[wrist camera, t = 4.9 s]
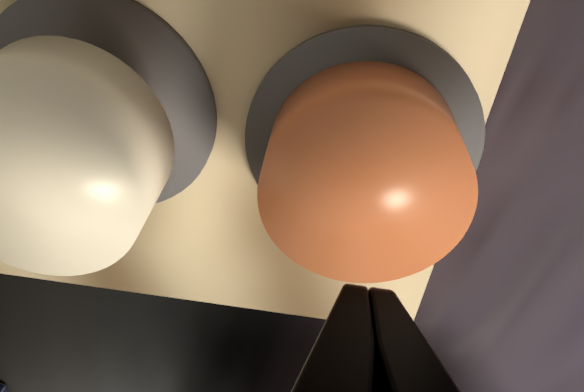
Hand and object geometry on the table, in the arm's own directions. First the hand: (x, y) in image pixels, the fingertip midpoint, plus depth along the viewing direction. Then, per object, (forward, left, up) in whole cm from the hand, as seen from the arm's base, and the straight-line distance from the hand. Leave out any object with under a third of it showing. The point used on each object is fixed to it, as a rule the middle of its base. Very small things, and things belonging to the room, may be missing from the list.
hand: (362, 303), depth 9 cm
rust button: (0, 0, -5) cm, 5 cm away
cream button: (+7, 0, -4) cm, 8 cm away
